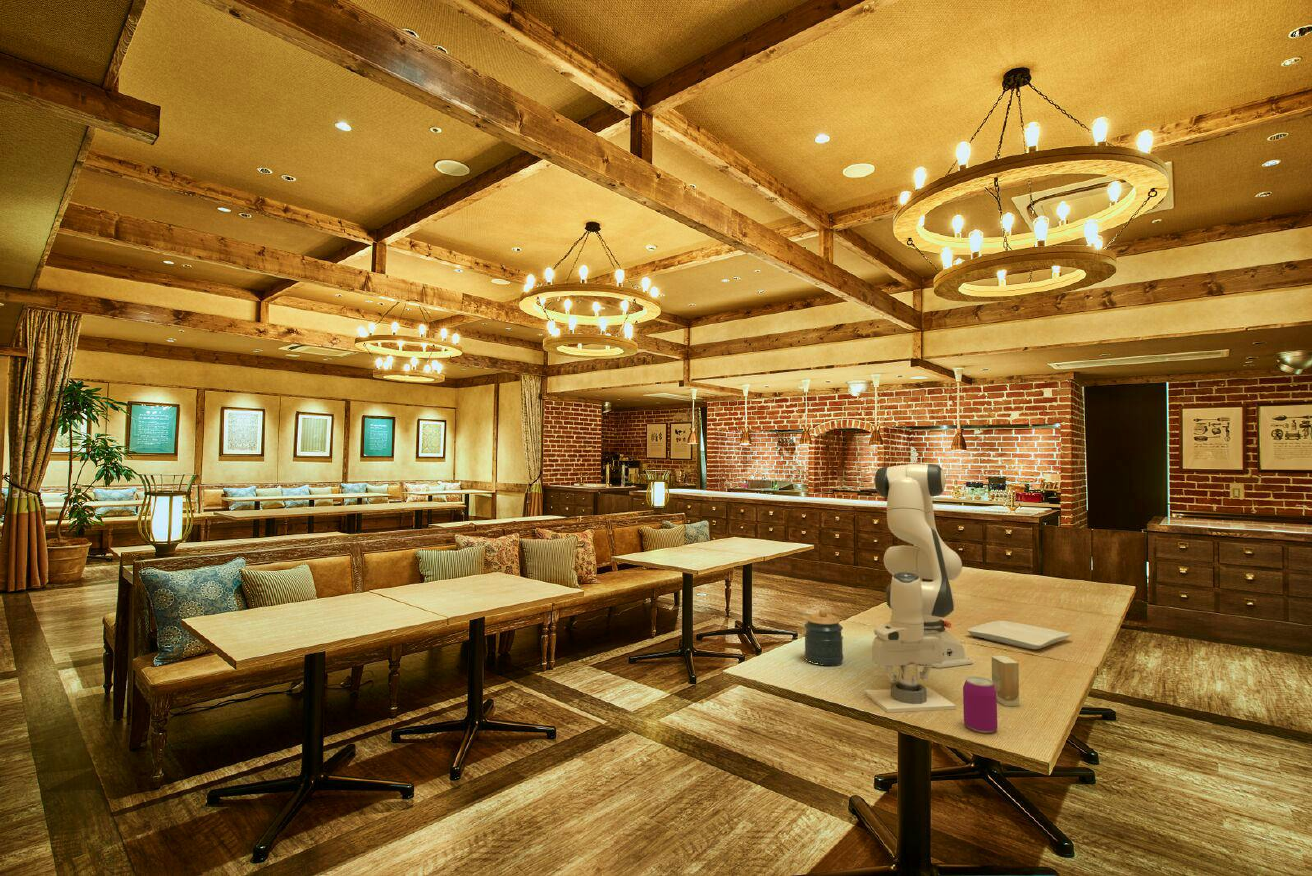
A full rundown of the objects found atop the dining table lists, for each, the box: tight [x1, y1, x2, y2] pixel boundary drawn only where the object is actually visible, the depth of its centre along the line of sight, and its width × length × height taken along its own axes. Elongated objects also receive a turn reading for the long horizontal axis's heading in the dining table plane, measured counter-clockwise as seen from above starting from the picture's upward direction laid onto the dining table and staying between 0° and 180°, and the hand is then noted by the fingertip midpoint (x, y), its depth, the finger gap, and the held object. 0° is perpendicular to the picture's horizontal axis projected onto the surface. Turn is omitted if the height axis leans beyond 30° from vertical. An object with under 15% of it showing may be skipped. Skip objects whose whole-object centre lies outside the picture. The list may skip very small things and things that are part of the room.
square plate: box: [966, 620, 1072, 650], centre depth 236 cm, size 27×27×4 cm
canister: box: [803, 608, 844, 666], centre depth 211 cm, size 13×13×18 cm
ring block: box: [863, 680, 957, 714], centre depth 174 cm, size 20×14×4 cm
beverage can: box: [962, 675, 998, 734], centre depth 157 cm, size 8×8×12 cm
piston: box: [898, 662, 919, 691], centre depth 175 cm, size 5×5×11 cm
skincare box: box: [991, 655, 1020, 707], centre depth 174 cm, size 6×4×12 cm
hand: (908, 679), depth 174 cm, fingers open, 8 cm apart
